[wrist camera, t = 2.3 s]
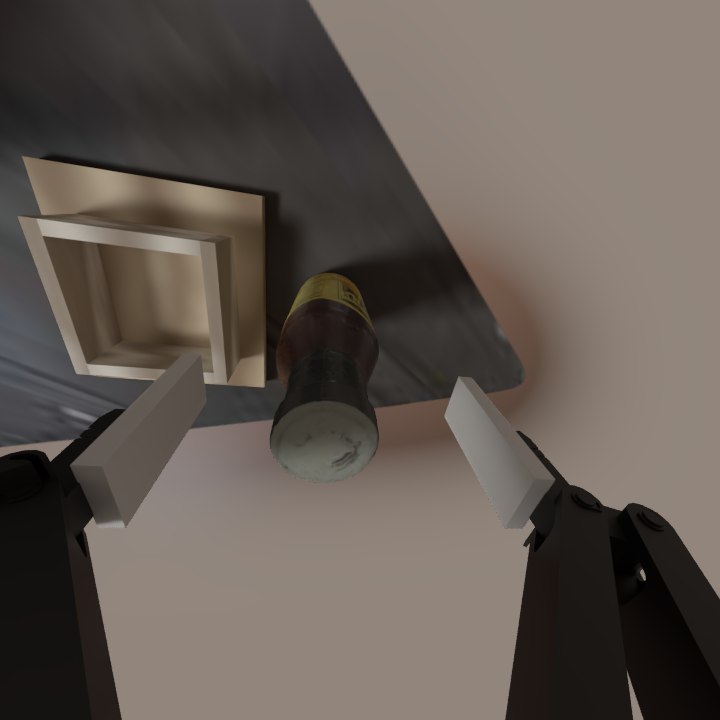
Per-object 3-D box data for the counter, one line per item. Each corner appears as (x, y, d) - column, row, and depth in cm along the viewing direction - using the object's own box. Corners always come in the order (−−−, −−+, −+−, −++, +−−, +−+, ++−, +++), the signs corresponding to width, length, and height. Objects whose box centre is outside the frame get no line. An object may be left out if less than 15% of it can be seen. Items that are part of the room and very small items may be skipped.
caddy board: (104, 370, 29) (58, 404, 24) (37, 158, 21) (-55, 144, 16) (266, 381, 32) (254, 414, 27) (264, 196, 23) (247, 194, 18)
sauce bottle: (366, 322, 29) (422, 493, 12) (308, 336, 29) (280, 526, 12) (352, 258, 26) (401, 363, 9) (287, 274, 26) (208, 409, 9)
